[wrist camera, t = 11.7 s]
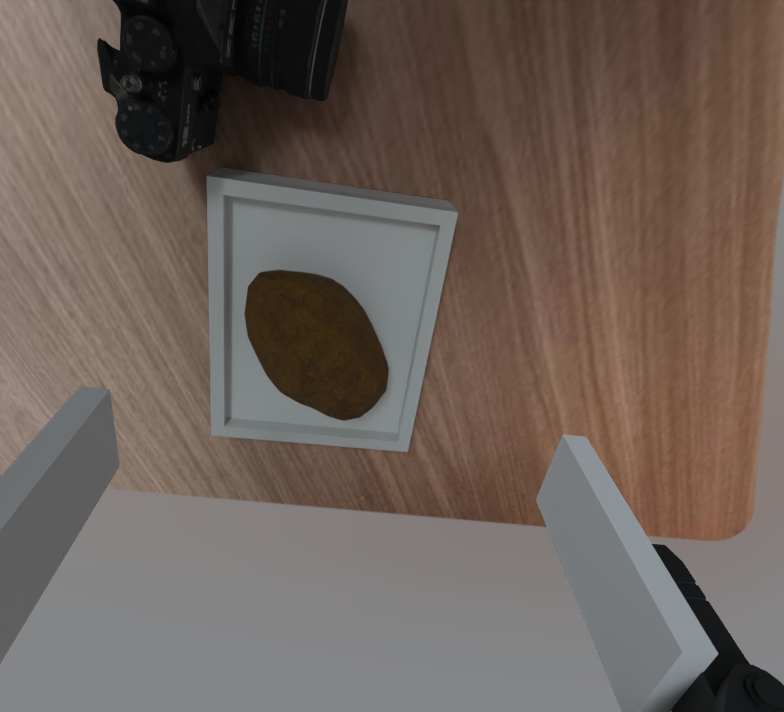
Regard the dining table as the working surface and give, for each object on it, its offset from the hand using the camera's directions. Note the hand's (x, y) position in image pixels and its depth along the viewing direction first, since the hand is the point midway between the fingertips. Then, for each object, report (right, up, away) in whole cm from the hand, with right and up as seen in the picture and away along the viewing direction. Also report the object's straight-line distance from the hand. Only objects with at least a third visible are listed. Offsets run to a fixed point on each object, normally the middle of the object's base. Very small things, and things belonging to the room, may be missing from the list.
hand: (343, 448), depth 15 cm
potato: (-4, +5, +23) cm, 24 cm away
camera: (-7, +22, +16) cm, 29 cm away
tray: (-4, +6, +25) cm, 26 cm away
